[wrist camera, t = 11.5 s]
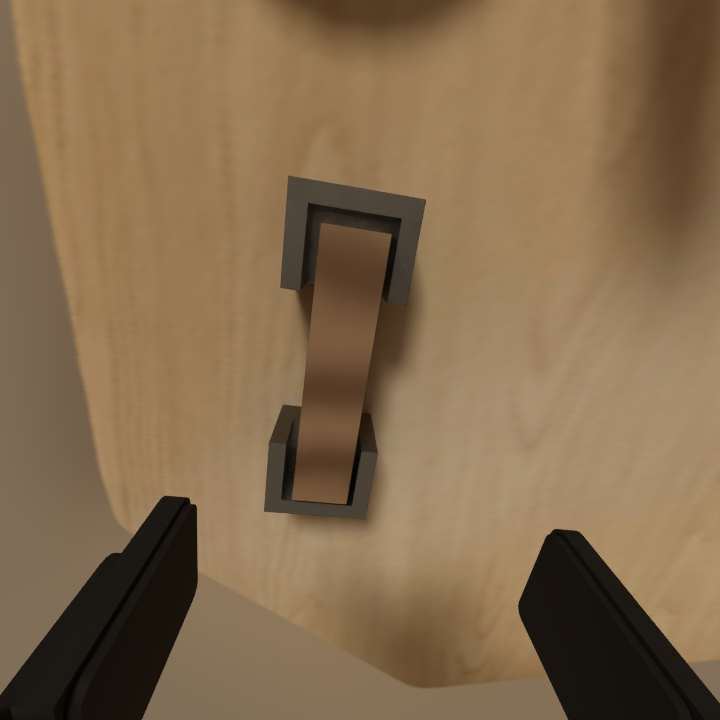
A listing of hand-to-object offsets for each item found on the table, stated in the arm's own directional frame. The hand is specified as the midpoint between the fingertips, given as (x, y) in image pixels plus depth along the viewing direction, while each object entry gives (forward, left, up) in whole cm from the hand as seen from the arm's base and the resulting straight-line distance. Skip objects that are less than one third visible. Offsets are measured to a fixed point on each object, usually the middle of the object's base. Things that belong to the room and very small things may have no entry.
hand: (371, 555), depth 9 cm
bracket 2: (+1, +9, -20) cm, 22 cm away
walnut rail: (+1, +1, -18) cm, 18 cm away
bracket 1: (+1, -7, -20) cm, 22 cm away
